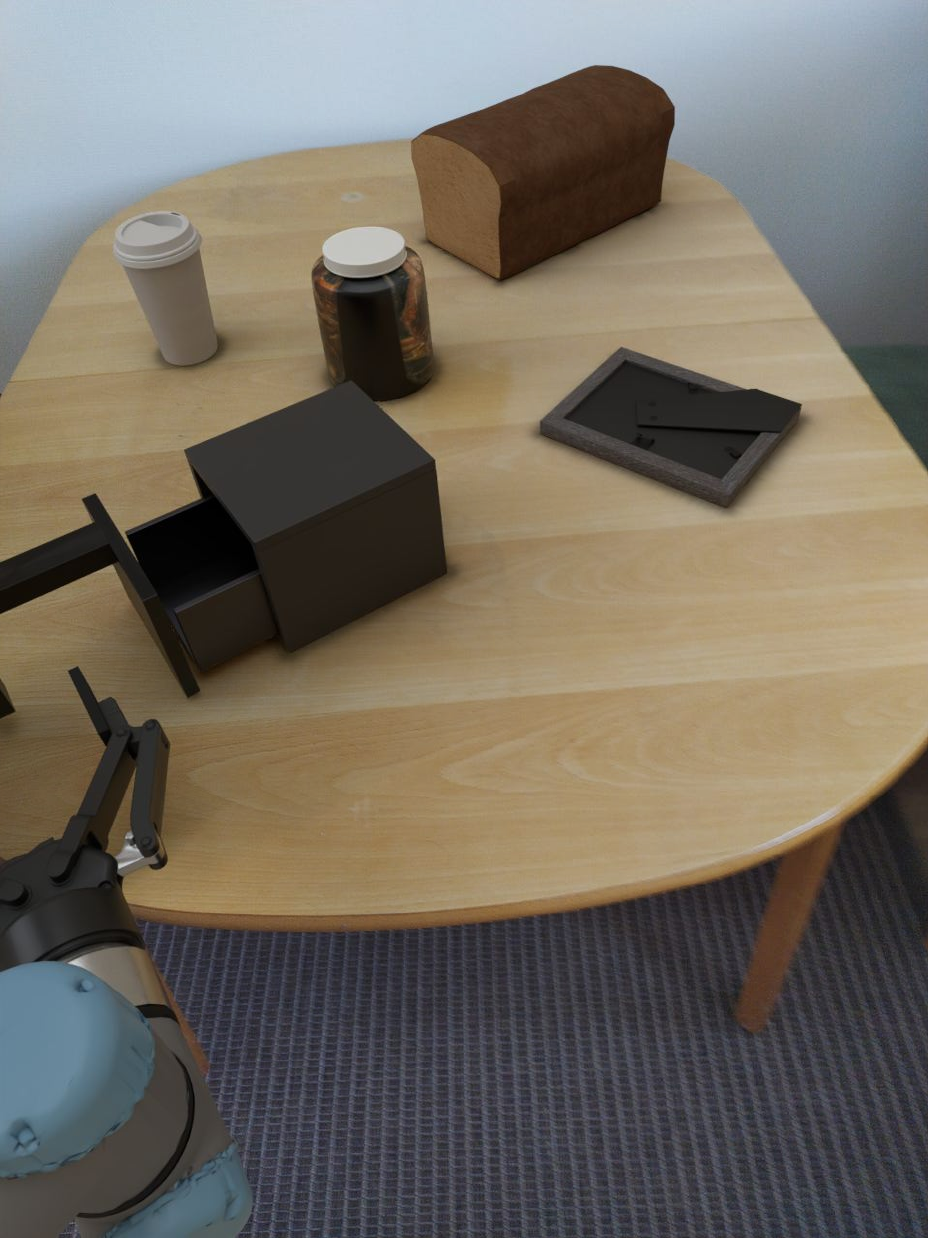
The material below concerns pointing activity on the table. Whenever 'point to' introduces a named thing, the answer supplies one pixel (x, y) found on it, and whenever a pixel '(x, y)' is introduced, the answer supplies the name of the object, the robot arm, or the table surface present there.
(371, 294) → the jar
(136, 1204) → the robot arm
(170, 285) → the coffee cup
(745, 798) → the table surface
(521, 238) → the bread
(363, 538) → the box
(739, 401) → the picture frame
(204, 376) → the table surface
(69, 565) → the fryer drawer
